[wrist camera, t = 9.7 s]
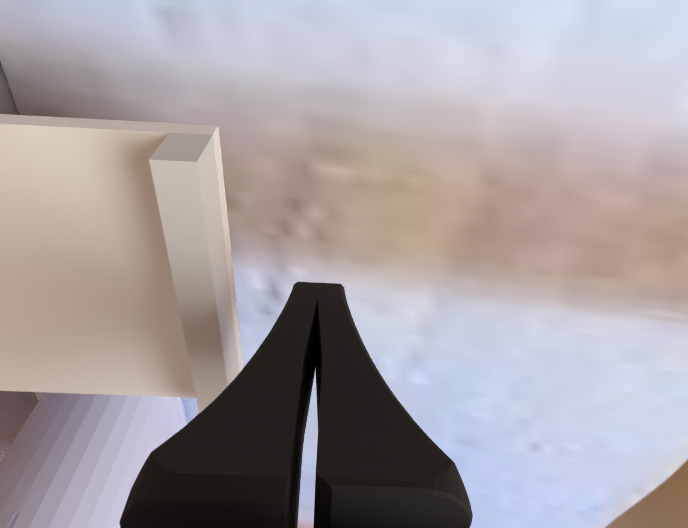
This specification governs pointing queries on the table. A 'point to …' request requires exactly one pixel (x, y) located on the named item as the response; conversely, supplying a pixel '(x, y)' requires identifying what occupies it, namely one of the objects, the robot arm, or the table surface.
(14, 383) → the lid
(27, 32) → the table surface
